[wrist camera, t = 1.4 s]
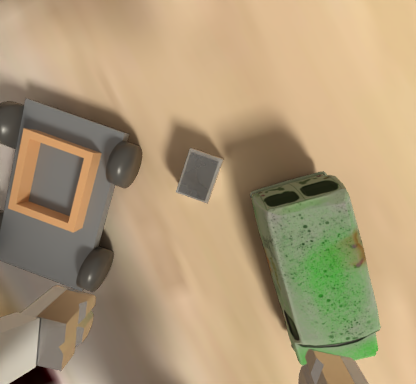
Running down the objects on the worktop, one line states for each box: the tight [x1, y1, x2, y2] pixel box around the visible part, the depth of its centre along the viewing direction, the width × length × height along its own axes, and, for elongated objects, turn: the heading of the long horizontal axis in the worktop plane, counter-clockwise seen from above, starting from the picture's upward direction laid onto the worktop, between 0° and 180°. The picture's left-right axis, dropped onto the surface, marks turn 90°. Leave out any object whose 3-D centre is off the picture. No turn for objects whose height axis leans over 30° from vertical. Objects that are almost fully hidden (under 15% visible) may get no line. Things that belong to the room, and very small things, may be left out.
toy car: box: [250, 171, 381, 365], centre depth 31 cm, size 11×25×10 cm, turn 17°
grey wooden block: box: [176, 148, 224, 204], centre depth 32 cm, size 6×4×5 cm
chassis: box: [0, 98, 142, 292], centre depth 34 cm, size 24×18×6 cm
